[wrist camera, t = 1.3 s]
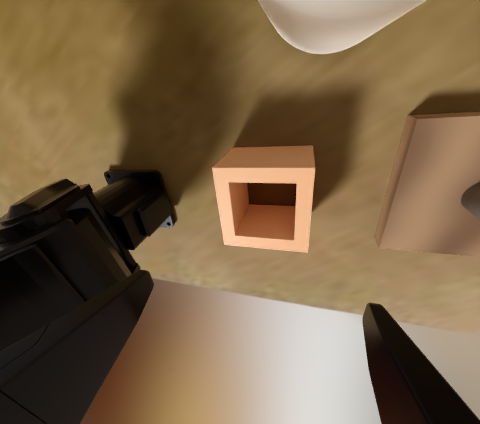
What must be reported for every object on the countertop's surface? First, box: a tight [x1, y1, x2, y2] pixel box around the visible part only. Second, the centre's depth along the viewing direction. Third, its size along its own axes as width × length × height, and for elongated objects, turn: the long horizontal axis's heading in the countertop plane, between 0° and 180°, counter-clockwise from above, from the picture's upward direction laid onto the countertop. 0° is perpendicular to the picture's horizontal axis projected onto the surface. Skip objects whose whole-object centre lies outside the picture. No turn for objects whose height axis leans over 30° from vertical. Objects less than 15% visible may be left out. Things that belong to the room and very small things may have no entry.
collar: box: [212, 145, 315, 253], centre depth 17 cm, size 6×6×5 cm
